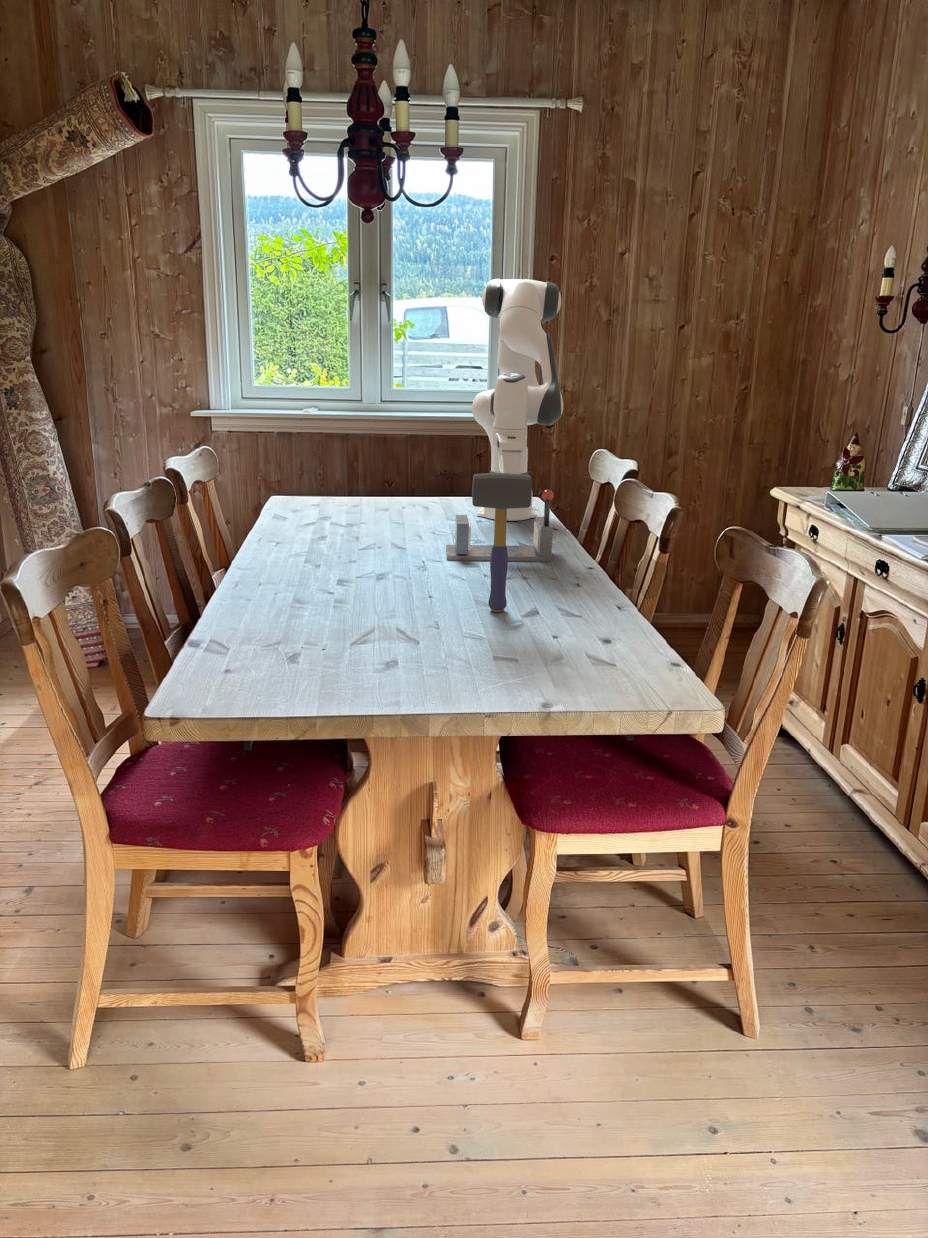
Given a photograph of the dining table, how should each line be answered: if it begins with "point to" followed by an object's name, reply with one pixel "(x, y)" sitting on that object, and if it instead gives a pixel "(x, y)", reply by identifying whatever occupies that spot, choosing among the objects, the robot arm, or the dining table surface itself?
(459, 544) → the block
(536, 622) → the dining table surface
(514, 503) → the rubber mallet
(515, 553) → the vise
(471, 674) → the dining table surface
